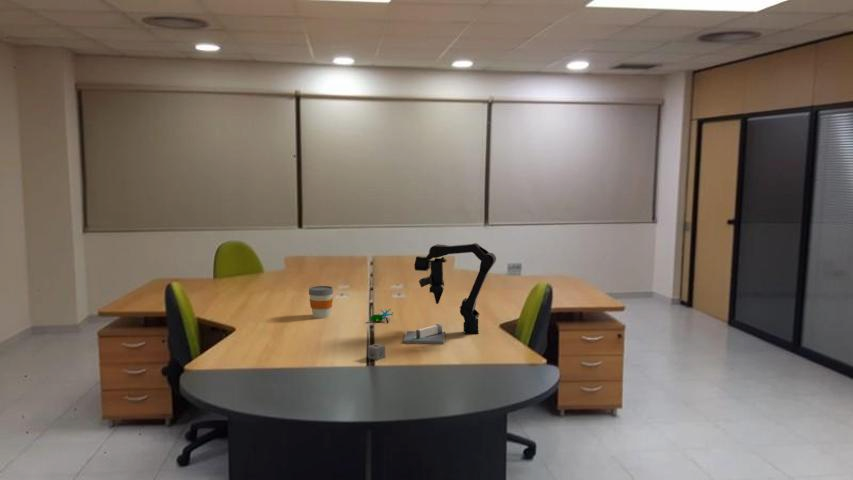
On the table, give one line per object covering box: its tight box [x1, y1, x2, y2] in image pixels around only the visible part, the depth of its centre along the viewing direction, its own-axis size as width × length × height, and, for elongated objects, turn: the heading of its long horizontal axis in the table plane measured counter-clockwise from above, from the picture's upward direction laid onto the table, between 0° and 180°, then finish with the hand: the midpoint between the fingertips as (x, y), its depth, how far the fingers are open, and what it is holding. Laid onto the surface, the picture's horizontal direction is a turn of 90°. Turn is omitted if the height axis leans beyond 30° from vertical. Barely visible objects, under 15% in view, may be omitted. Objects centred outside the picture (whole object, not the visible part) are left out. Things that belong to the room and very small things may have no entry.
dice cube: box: [367, 343, 386, 361], centre depth 261 cm, size 5×5×5 cm
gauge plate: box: [402, 330, 447, 345], centre depth 289 cm, size 18×16×1 cm
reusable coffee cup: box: [308, 285, 334, 319], centre depth 332 cm, size 13×13×15 cm
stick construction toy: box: [369, 308, 394, 324], centre depth 319 cm, size 12×7×8 cm
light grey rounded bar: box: [415, 323, 443, 339], centre depth 289 cm, size 16×3×4 cm, turn 134°
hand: (437, 303), depth 302 cm, fingers closed
